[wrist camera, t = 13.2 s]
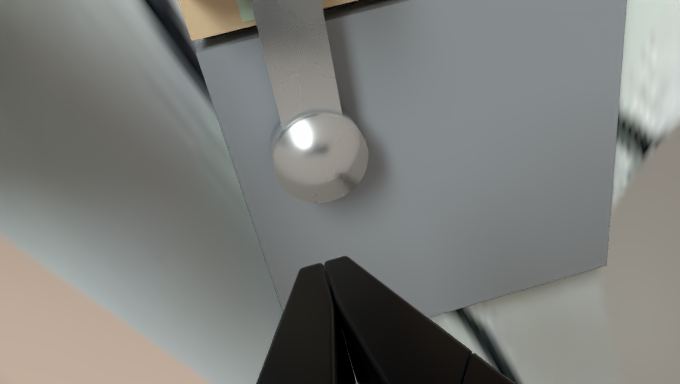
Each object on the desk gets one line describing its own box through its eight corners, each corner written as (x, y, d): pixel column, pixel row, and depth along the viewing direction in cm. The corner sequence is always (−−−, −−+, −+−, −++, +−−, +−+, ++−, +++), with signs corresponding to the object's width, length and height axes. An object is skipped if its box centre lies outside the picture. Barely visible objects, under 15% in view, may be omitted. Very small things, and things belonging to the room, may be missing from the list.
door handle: (365, 172, 20) (396, 231, 16) (281, 193, 20) (294, 257, 16) (297, -227, 14) (323, -269, 10) (175, -204, 14) (160, -239, 10)
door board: (293, 331, 26) (303, 391, 22) (101, -252, 14) (68, -292, 11) (586, 246, 27) (634, 292, 24) (617, -357, 16) (716, -419, 12)
